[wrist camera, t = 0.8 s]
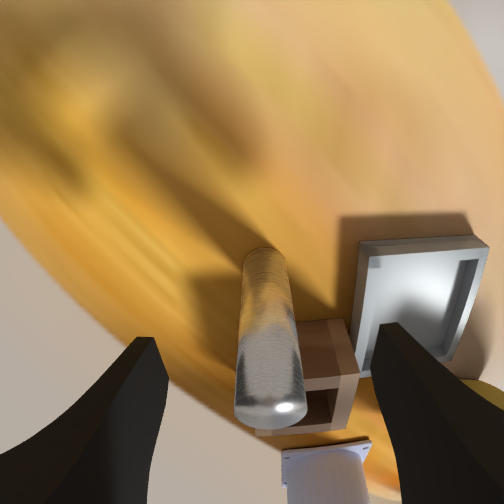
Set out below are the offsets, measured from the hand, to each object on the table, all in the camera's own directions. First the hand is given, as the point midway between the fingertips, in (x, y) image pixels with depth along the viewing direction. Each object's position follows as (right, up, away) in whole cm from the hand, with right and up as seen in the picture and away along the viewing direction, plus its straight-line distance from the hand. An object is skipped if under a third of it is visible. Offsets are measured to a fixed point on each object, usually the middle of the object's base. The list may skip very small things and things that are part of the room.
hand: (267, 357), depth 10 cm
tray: (+8, 0, +6) cm, 10 cm away
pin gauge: (0, +3, +5) cm, 6 cm away
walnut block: (+2, -3, +8) cm, 9 cm away
